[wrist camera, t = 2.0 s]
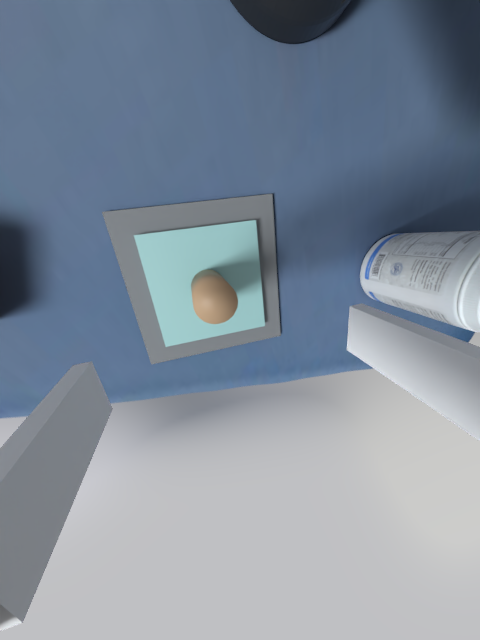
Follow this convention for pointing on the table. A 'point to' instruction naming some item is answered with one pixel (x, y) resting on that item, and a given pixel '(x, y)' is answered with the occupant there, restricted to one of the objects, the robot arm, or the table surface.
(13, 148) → the table surface
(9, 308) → the table surface
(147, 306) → the mat
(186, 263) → the lid
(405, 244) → the supplement tub
